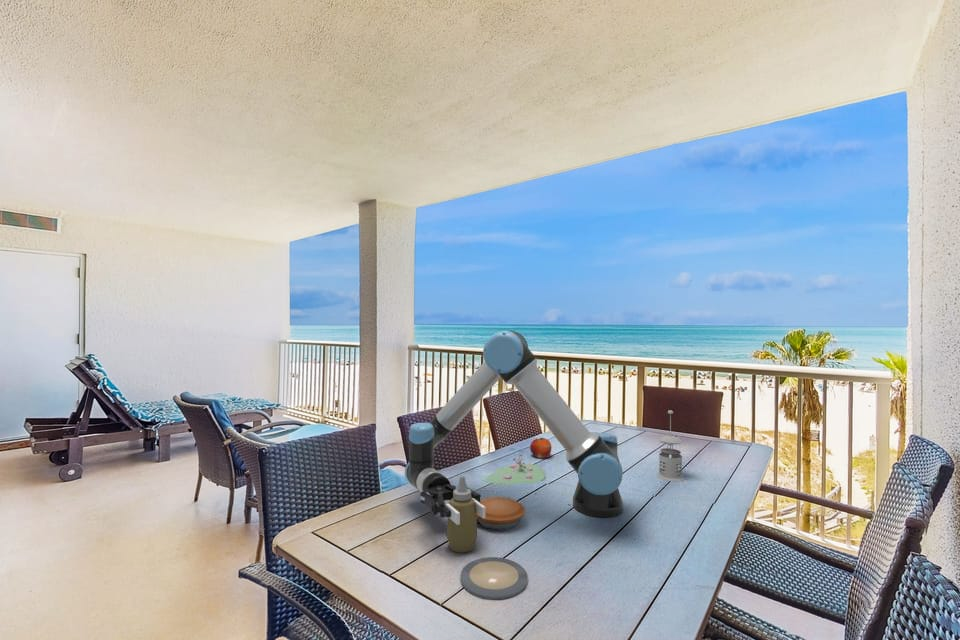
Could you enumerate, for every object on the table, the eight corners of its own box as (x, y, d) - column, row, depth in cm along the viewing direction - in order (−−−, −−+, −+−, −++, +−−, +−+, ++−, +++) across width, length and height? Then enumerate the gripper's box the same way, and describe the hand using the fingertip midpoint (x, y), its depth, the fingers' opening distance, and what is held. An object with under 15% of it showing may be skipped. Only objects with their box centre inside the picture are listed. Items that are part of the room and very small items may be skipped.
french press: (656, 479, 163) (656, 411, 163) (656, 469, 173) (656, 406, 173) (685, 483, 159) (685, 413, 159) (683, 472, 170) (684, 408, 170)
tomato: (553, 460, 185) (553, 441, 185) (531, 459, 185) (531, 440, 185) (549, 453, 194) (549, 435, 194) (529, 453, 194) (529, 435, 194)
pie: (480, 536, 118) (480, 518, 118) (466, 512, 133) (466, 496, 133) (533, 530, 122) (533, 512, 123) (514, 507, 137) (514, 491, 137)
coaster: (534, 567, 103) (534, 564, 103) (517, 606, 89) (517, 601, 89) (474, 555, 108) (474, 552, 108) (449, 590, 94) (449, 586, 94)
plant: (513, 493, 150) (513, 467, 150) (471, 478, 164) (471, 454, 164) (556, 475, 167) (556, 452, 167) (515, 463, 182) (515, 441, 182)
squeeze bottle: (473, 557, 108) (474, 483, 108) (442, 553, 109) (442, 481, 109) (480, 541, 116) (480, 472, 116) (450, 538, 117) (451, 470, 117)
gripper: (463, 492, 133) (504, 522, 113) (401, 504, 123) (435, 540, 103) (463, 467, 133) (504, 493, 113) (401, 478, 123) (435, 508, 103)
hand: (471, 515), depth 108 cm, fingers closed on squeeze bottle, 6 cm apart
